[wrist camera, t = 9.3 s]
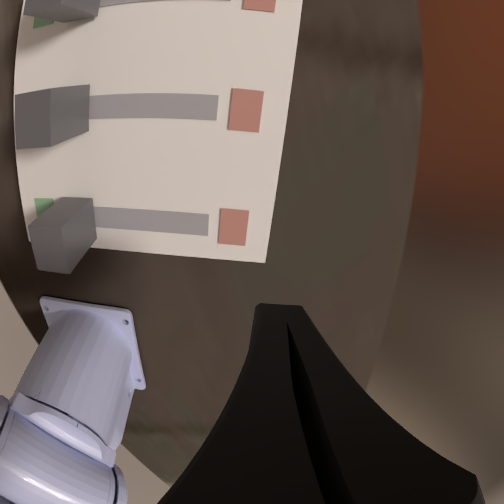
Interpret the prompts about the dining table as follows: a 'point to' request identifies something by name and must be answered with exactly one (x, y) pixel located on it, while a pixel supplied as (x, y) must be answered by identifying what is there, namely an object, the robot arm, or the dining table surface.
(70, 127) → the block
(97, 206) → the breaker board
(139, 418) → the dining table surface
